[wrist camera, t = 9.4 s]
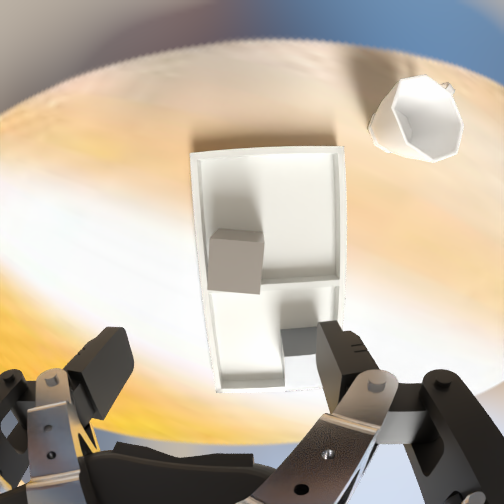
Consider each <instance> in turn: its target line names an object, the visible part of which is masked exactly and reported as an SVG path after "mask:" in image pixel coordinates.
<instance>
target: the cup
mask: <svg viewBox="0 0 504 504" xmlns="http://www.w3.org/2000/svg"><path fill="white" fill-rule="evenodd" d="M454 92H455V90H454V88H453V87H452V86H451V84H450V83H449V82H447V83H443V84H441V85H440V84H438V83H437V82H436V81H434V80H433V79H432V78H430V77H429V76H427V75H426V74H425V75H419V76H414V77H408V78H403V79H400V80H399V81H398V82H397V83H396V85H395V86H394V87H393V88H392V90H391V91H390V92H389V93H388V95H387V96H386V97H385V98H384V99H383V100H382V102H381V104H380V106H379V108H378V110H377V112H376V113H375V114H373V115H372V118H371V121H370V123H369V126H368V131H369V134H370V136H371V139H372V141H373V144H374V145H375V146H376V147H378V148H380V149H382V150H384V151H385V152H387V153H394V154H397V155H400V156H402V157H406V158H412V159H418V160H423V161H427V162H433V163H434V162H437V161H439V160H442V159H445V158H447V157H450V156H453V155H456V154H457V153H458V149H459V145H460V141H461V137H462V133H463V129H464V124H463V121H462V118H461V116H460V113H459V110H458V108H457V105H456V103H455V100H454V98H453V96H452V95H453V94H454Z"/></svg>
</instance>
